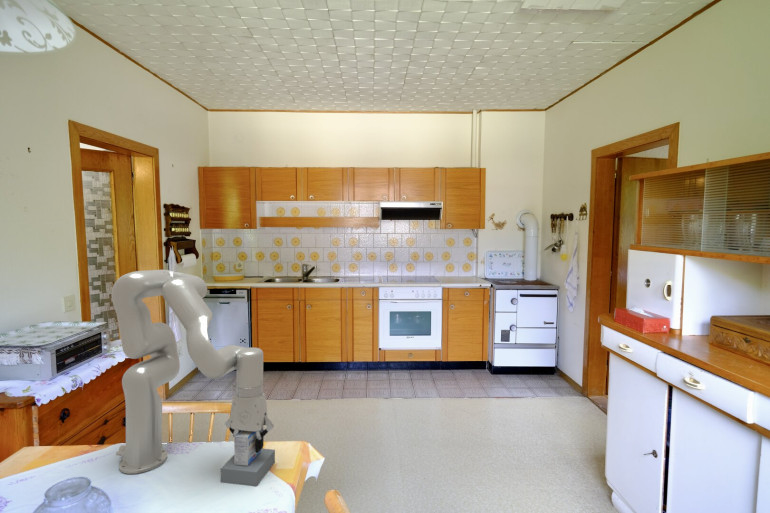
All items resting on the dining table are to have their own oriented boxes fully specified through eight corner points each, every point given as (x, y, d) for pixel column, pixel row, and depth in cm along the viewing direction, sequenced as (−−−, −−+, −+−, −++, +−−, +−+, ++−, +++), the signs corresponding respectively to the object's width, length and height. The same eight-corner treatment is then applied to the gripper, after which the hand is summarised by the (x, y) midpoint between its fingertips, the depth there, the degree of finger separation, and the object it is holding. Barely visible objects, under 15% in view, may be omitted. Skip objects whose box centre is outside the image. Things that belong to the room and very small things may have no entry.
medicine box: (247, 466, 107) (248, 437, 106) (233, 465, 107) (234, 435, 107) (261, 452, 114) (261, 424, 114) (248, 450, 115) (248, 423, 115)
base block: (220, 482, 106) (220, 468, 106) (242, 458, 118) (242, 446, 117) (256, 486, 104) (256, 472, 104) (274, 462, 116) (275, 449, 116)
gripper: (215, 392, 108) (215, 453, 108) (271, 397, 106) (270, 459, 106) (230, 383, 115) (229, 440, 116) (282, 387, 113) (281, 445, 113)
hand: (249, 448), depth 111 cm, fingers open, 5 cm apart
